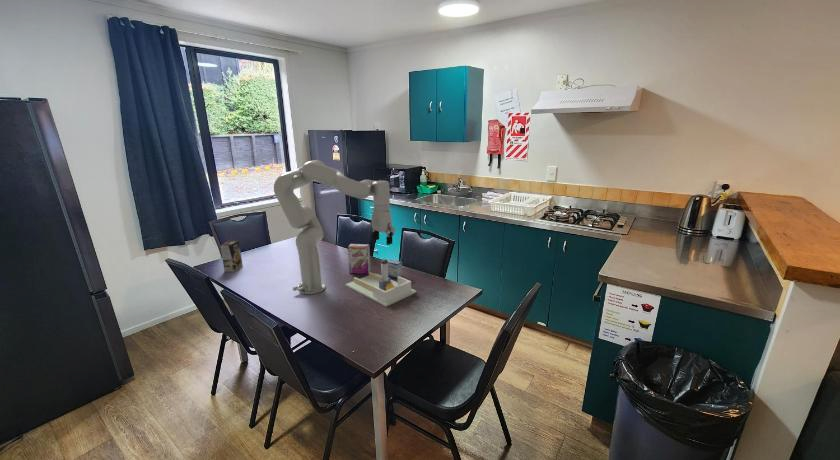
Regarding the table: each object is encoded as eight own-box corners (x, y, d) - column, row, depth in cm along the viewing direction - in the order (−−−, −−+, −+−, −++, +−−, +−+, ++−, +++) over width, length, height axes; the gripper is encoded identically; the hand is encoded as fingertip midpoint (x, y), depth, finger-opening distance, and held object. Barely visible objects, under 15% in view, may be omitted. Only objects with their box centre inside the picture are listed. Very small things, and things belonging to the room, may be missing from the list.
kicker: (382, 291, 170) (381, 263, 165) (378, 289, 172) (377, 261, 168) (391, 287, 174) (391, 259, 170) (387, 286, 176) (386, 258, 172)
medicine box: (386, 276, 191) (385, 261, 189) (390, 273, 195) (390, 259, 193) (398, 278, 188) (397, 264, 186) (402, 276, 192) (402, 261, 189)
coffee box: (235, 271, 198) (230, 245, 193) (224, 271, 198) (219, 245, 193) (243, 265, 206) (239, 240, 202) (232, 265, 206) (228, 240, 202)
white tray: (385, 306, 158) (385, 295, 157) (345, 285, 180) (344, 275, 178) (416, 292, 172) (416, 281, 170) (375, 274, 193) (375, 264, 192)
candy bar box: (349, 273, 195) (347, 246, 190) (351, 270, 200) (350, 243, 195) (368, 274, 194) (367, 246, 189) (370, 271, 198) (369, 244, 194)
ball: (388, 285, 166) (382, 284, 170) (390, 294, 167) (384, 293, 170) (395, 282, 170) (389, 281, 173) (397, 291, 170) (391, 290, 173)
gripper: (364, 205, 164) (365, 239, 169) (387, 211, 153) (388, 248, 158) (376, 203, 170) (377, 236, 174) (400, 208, 158) (400, 244, 163)
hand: (382, 241), depth 166 cm, fingers open, 9 cm apart
